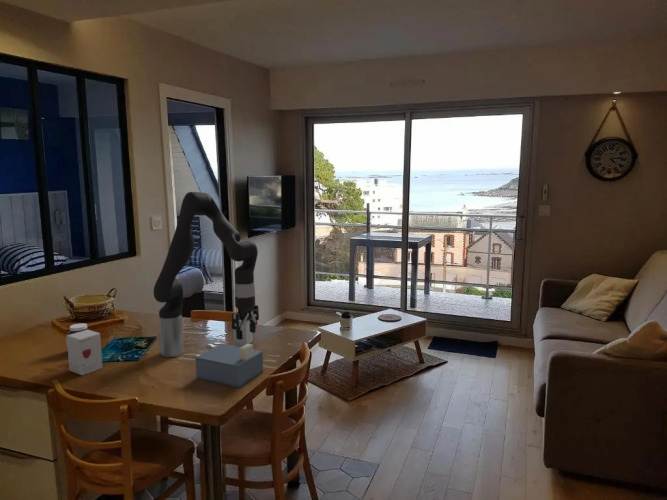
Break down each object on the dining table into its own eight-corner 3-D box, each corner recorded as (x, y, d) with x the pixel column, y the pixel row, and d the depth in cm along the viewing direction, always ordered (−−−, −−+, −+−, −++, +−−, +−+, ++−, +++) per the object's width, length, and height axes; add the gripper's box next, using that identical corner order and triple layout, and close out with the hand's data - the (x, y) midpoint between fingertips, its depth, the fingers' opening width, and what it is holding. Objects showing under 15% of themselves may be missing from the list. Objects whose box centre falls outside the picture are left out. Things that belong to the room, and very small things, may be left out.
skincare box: (246, 355, 207) (245, 321, 204) (232, 354, 208) (231, 320, 205) (253, 348, 215) (253, 315, 212) (240, 347, 216) (239, 314, 213)
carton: (196, 378, 183) (195, 358, 182) (222, 363, 198) (221, 345, 196) (239, 388, 175) (238, 367, 174) (263, 372, 190) (262, 353, 188)
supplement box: (81, 376, 185) (78, 339, 183) (68, 371, 190) (65, 335, 188) (103, 368, 193) (100, 332, 191) (90, 363, 198) (87, 329, 195)
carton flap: (195, 358, 182) (194, 345, 181) (221, 345, 196) (221, 333, 196) (238, 367, 174) (238, 354, 173) (262, 352, 188) (262, 340, 187)
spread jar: (87, 345, 218) (85, 321, 216) (100, 351, 212) (98, 325, 210) (60, 353, 208) (57, 328, 207) (72, 359, 202) (70, 333, 200)
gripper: (247, 289, 186) (248, 329, 188) (224, 297, 173) (226, 340, 176) (263, 291, 183) (264, 331, 185) (242, 299, 170) (243, 343, 173)
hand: (246, 335), depth 180 cm, fingers open, 8 cm apart
